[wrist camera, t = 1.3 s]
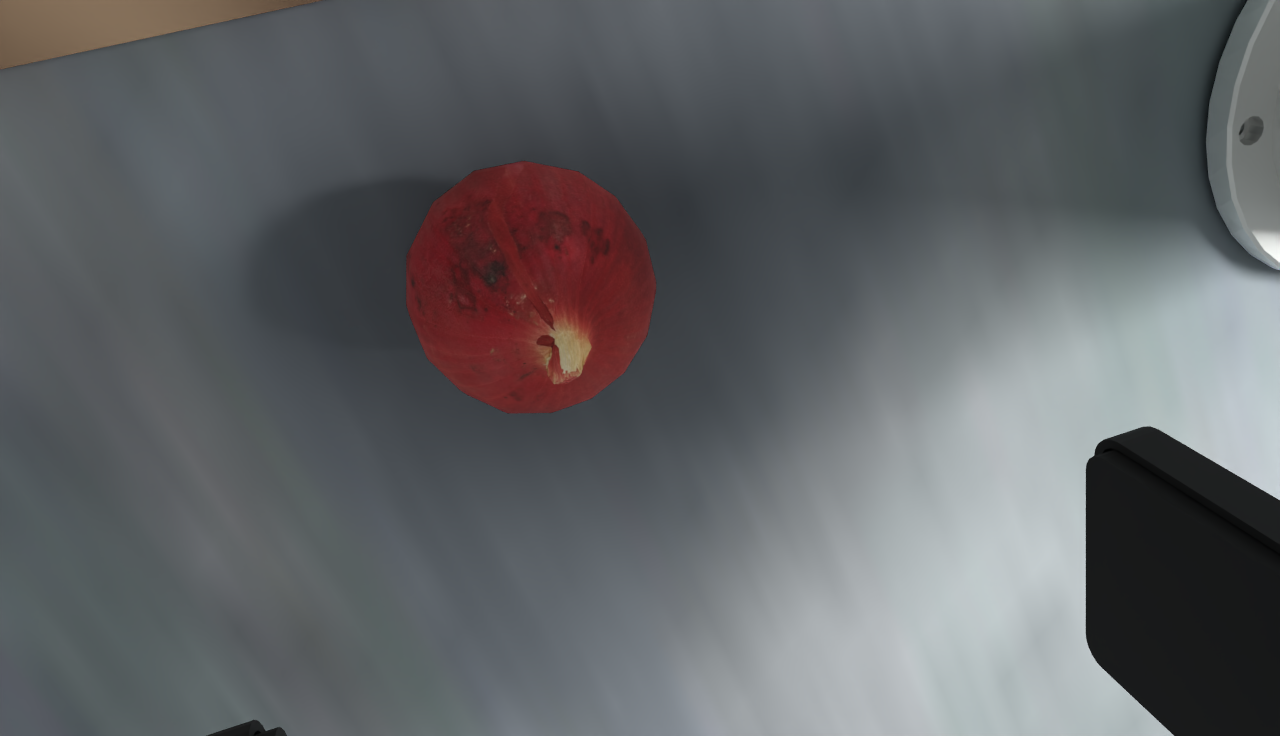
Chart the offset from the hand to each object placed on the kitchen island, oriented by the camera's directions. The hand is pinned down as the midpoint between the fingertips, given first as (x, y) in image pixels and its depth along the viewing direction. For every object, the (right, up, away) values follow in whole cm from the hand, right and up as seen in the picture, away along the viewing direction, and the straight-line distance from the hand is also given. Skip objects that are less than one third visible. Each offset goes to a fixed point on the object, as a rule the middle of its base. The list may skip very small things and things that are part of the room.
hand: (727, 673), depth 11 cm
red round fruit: (-5, +7, +16) cm, 18 cm away
